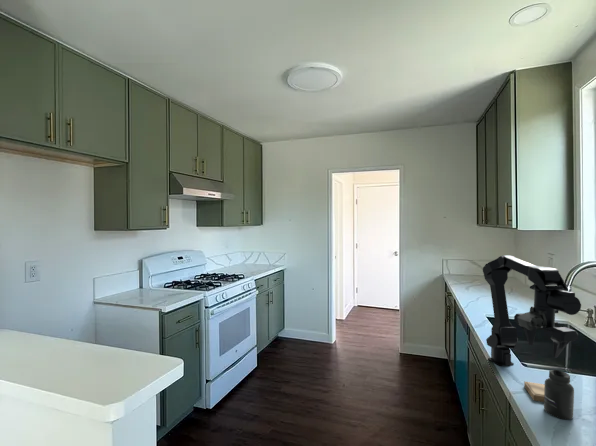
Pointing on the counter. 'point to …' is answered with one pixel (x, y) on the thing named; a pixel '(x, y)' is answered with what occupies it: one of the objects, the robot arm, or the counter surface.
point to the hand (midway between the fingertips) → (542, 351)
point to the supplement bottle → (559, 395)
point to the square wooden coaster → (535, 390)
